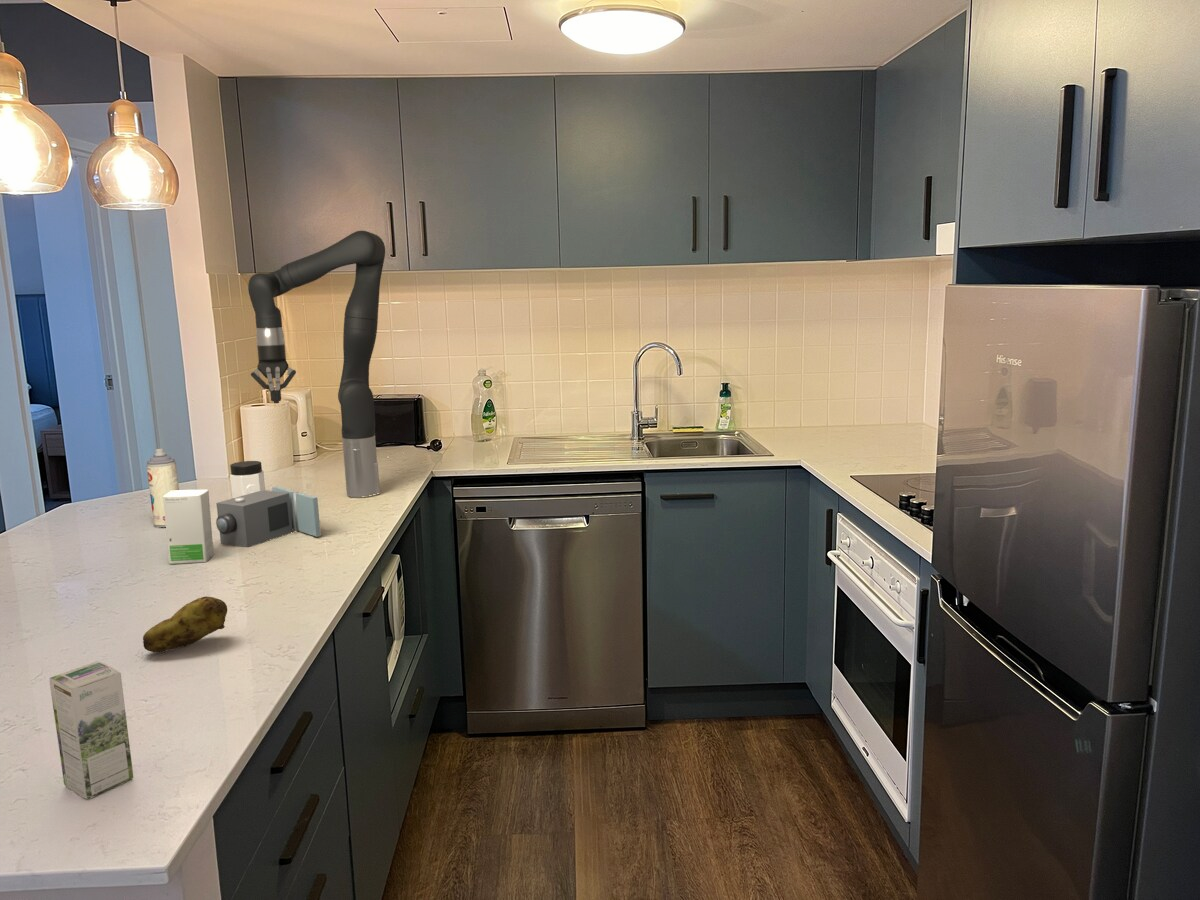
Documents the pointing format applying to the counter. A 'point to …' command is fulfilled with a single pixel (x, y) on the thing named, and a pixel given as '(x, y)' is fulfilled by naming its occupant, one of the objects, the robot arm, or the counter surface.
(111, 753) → the syrup box
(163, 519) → the aerosol can
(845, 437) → the counter surface
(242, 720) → the counter surface
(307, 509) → the side door
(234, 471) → the jar
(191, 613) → the potato
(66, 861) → the counter surface
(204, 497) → the skincare box
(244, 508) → the block
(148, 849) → the counter surface
